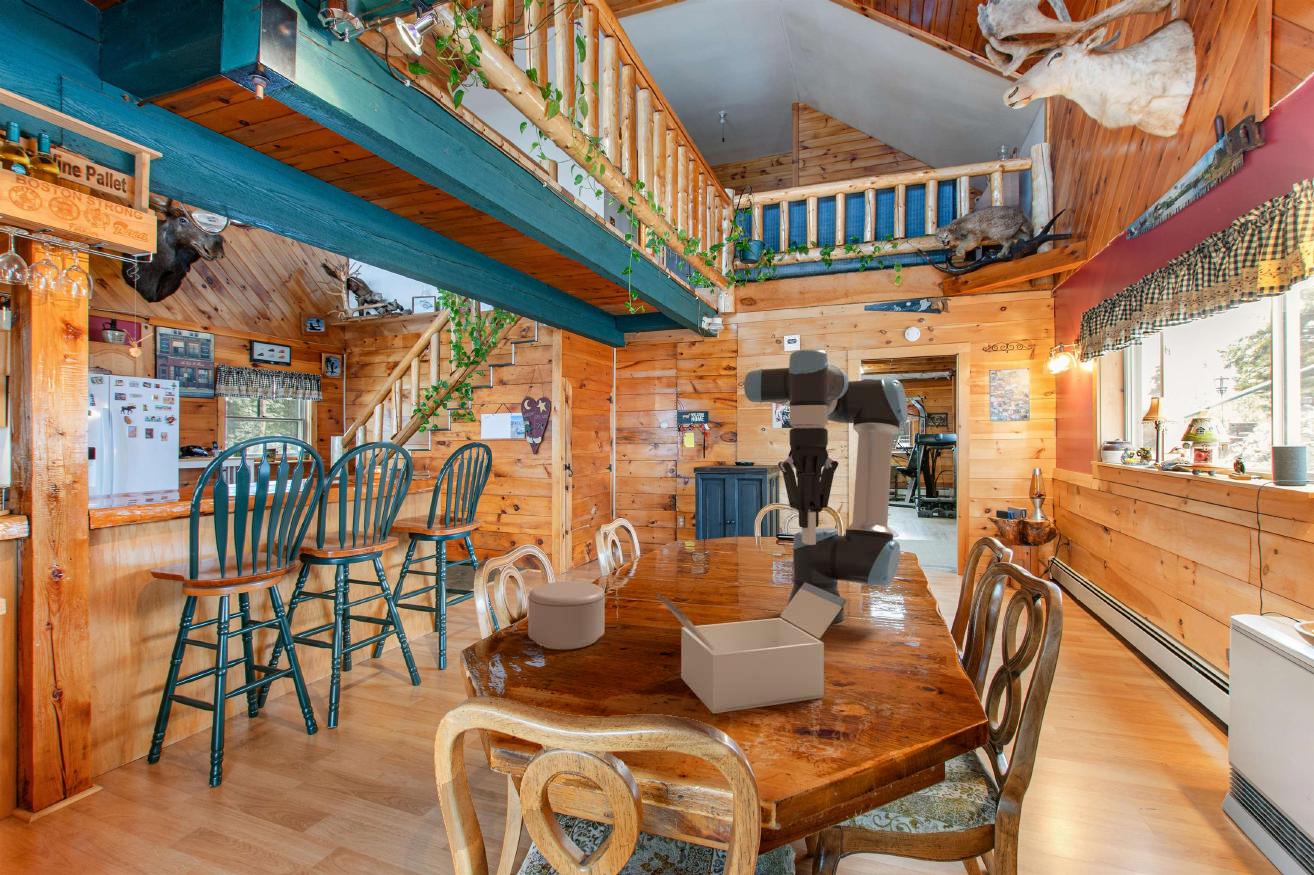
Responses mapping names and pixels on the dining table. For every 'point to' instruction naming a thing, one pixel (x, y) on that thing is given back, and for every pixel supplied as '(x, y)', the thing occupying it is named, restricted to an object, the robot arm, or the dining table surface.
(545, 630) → the container
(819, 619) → the flap
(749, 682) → the carton
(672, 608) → the flap
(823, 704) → the dining table surface
